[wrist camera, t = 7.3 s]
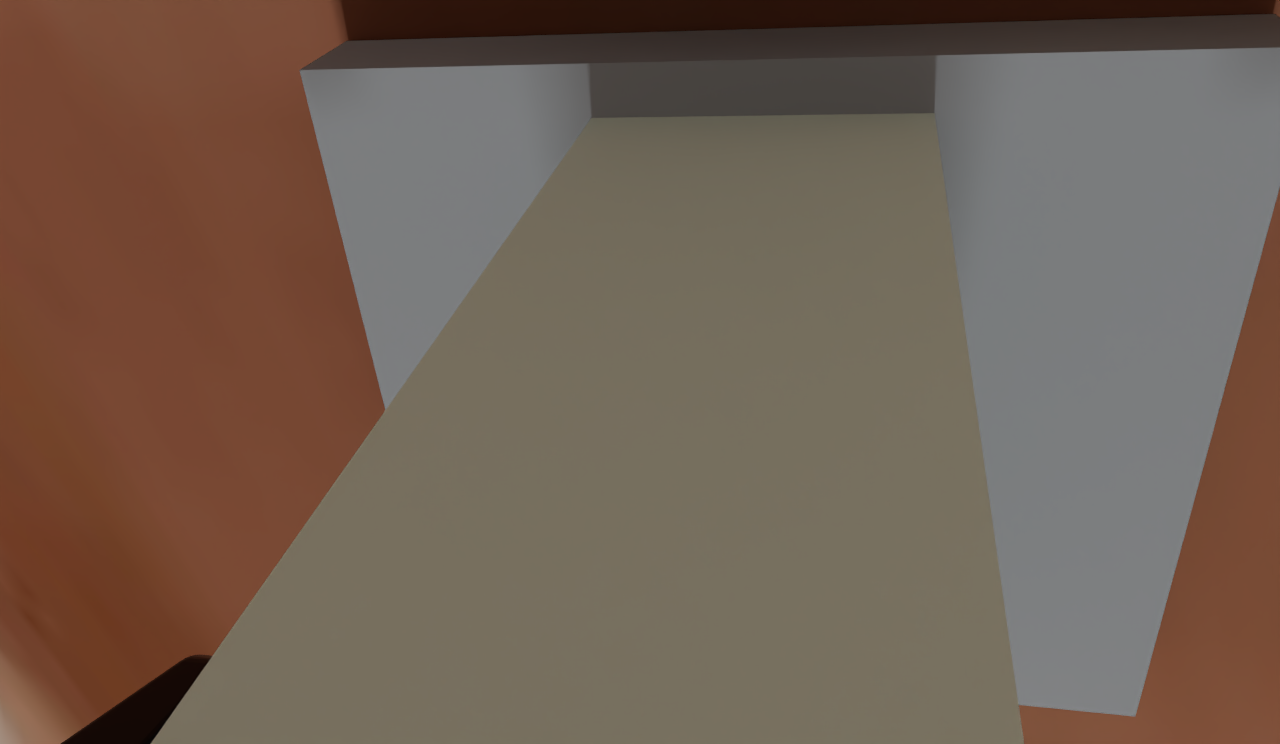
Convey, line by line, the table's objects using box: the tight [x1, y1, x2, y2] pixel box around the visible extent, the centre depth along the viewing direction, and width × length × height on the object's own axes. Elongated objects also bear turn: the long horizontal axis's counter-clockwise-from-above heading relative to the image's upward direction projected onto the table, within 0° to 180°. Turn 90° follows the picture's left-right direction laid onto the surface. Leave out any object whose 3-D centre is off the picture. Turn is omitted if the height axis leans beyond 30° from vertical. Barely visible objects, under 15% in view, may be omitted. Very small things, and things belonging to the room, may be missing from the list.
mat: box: [300, 14, 1280, 716], centre depth 13 cm, size 10×9×1 cm
